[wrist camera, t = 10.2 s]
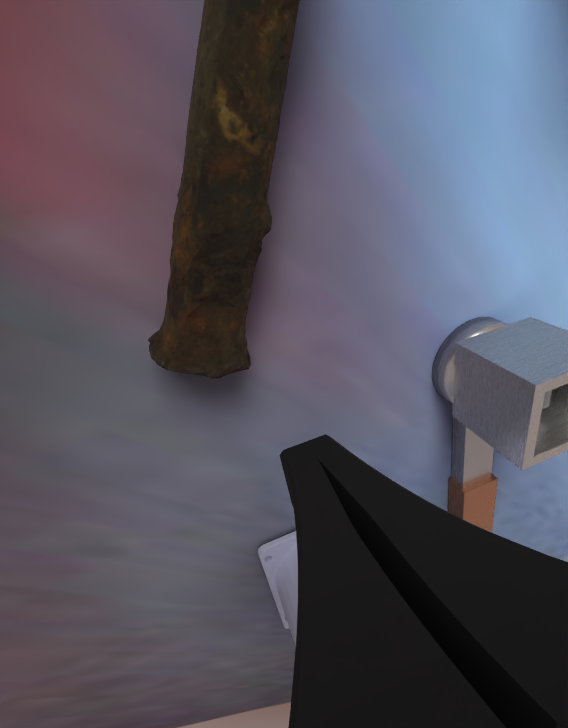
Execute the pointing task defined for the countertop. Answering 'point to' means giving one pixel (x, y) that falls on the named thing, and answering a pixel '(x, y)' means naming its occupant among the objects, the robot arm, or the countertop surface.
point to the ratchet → (468, 438)
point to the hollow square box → (515, 389)
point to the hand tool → (225, 184)
